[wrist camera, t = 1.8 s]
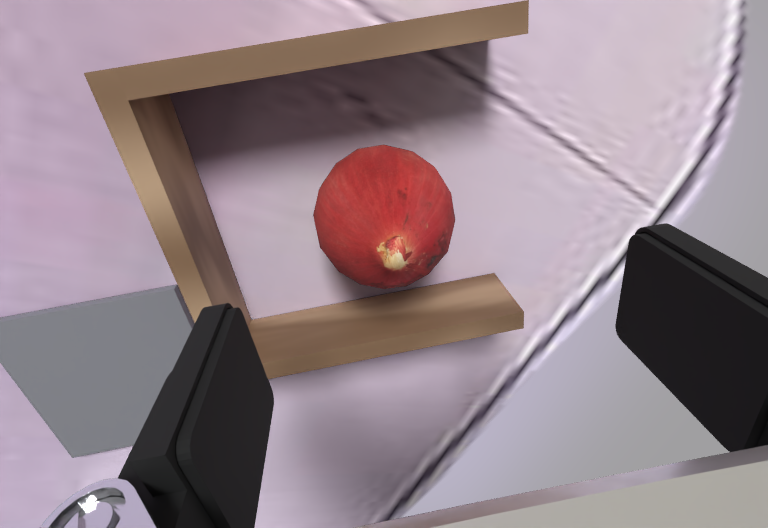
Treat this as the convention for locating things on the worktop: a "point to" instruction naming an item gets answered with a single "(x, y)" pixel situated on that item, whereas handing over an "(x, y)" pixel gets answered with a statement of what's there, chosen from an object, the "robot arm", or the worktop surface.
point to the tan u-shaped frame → (201, 235)
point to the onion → (384, 217)
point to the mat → (96, 363)
